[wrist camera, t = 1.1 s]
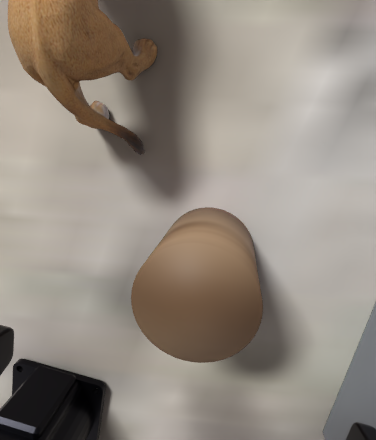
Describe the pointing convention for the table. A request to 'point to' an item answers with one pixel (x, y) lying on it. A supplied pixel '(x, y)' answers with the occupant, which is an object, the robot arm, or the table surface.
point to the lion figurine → (76, 54)
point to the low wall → (356, 388)
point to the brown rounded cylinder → (200, 288)
